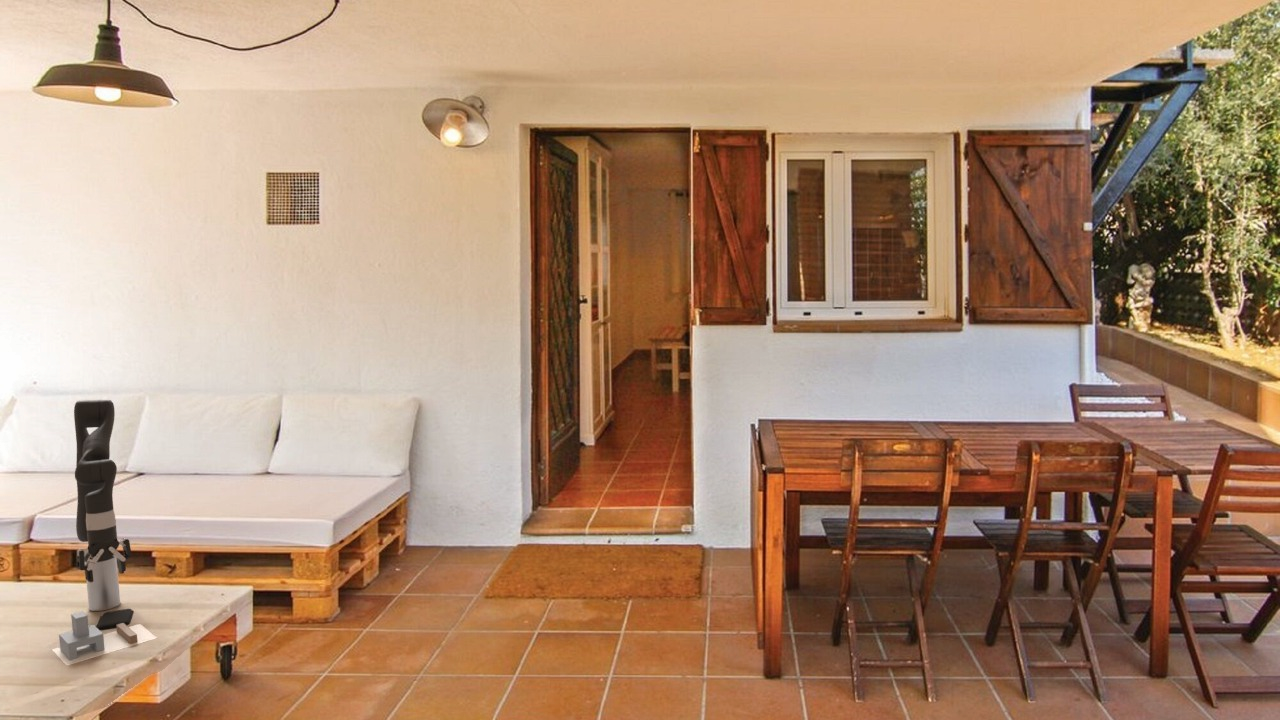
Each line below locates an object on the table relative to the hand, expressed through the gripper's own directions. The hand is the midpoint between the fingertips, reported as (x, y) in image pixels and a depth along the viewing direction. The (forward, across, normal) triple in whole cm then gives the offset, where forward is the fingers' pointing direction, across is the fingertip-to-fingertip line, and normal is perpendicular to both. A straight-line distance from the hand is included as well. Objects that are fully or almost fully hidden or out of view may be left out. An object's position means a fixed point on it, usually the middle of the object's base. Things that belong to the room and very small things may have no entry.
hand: (106, 577), depth 255 cm
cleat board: (+22, +1, -2) cm, 23 cm away
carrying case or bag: (+22, -8, -19) cm, 31 cm away
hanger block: (+21, +7, -3) cm, 22 cm away
